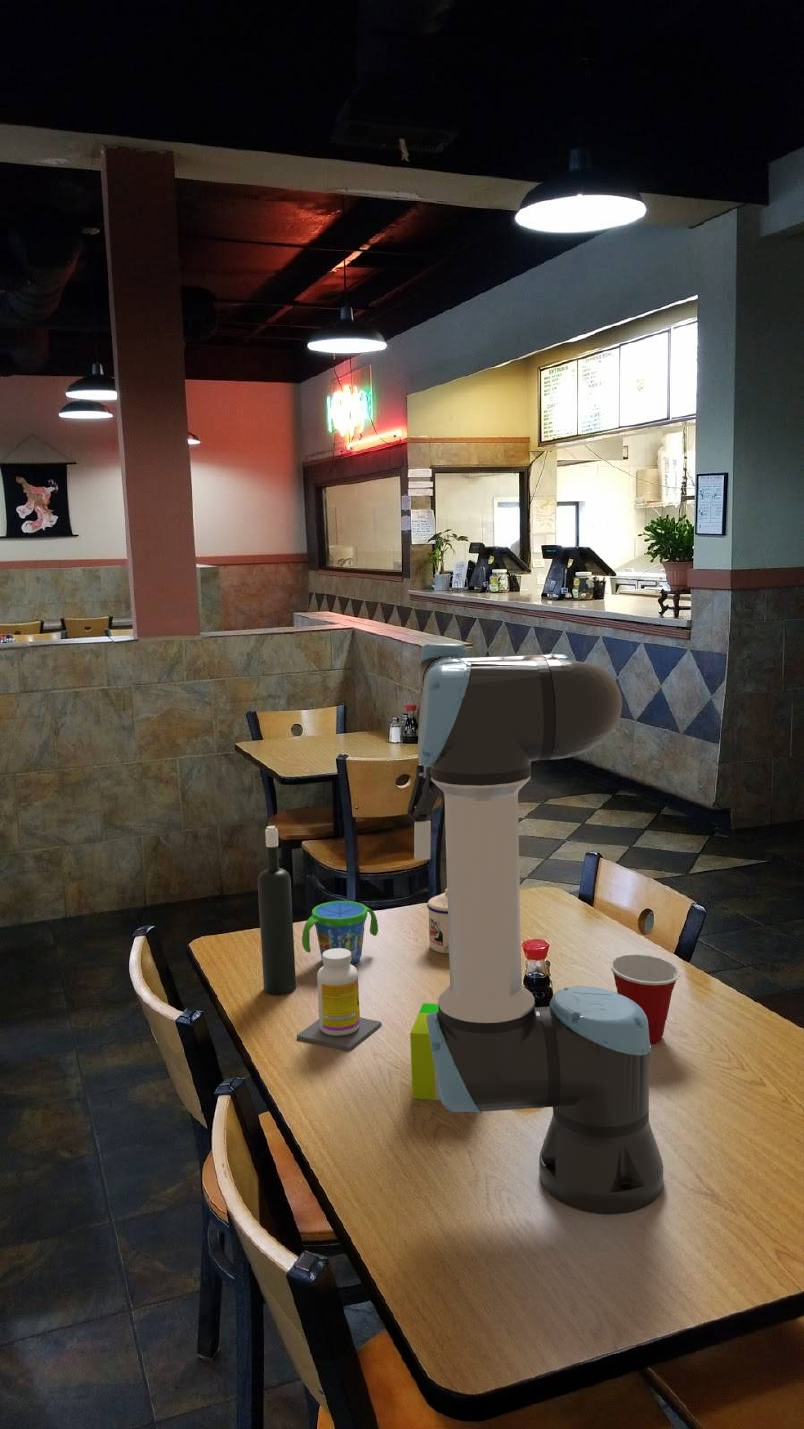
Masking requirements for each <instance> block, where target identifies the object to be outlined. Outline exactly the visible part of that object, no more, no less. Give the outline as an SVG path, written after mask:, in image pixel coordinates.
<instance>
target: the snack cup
mask: <svg viewBox="0 0 804 1429" xmlns="http://www.w3.org/2000/svg"><path fill="white" fill-rule="evenodd" d="M368 913H369V915H370V918H371V919H370V925H369V933H370V934H371V935H372V936H373V937H376V936H377V935H378V932H379V924H378V920H377V915H376V913H375V912H374V910H372V909H371V908H369V907H368V906H366V905H365V904H363V903H360V902H356V901H351V900H335V901H328V902H327V901H326V902H324V903H320V904H318V905H316V906H314V908H313V909H312V911H311V916H310V917H309V918H308V919H307V920H306V922H305V924H304V927H303V929H302V930H303V931H302V937H301V943H302V947H303V950H304V951H305V952H307V953H311V951H312V950H311V947H310V944H311V942H310V930H311V929H312V927H313V926H314V925H315V931H316V936H317V941H318V947H319V950H320V956H321V958H322V954H323V952H325V951H326V950H329V949H334V948H342V949H347V950H349V951H350V952H351V962H350V964H351V965H353V964H354V963H359V962H360V959H361V958H362V954H363V952H362V951H363V943H364V936H365V923H366V920H367V917H368Z"/></svg>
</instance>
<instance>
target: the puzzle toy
mask: <svg viewBox="0 0 804 1429" xmlns="http://www.w3.org/2000/svg"><path fill="white" fill-rule="evenodd" d="M433 1012H438V1003H426V1002H425V1003H422V1005H421V1007H420V1009H419V1011H418V1014H417V1017H416V1019H415V1021H414V1024H413V1025H412V1029H411V1030H410V1035H409V1036H410V1038H409V1039H410V1061H411V1064H410V1065H411V1090H412V1099H419V1100H421V1099H422V1100H433V1101H441V1099H440V1094H439V1089H438V1083H437V1077H436V1072H435V1066H434V1060H433V1055H432V1049H431V1043H430V1037H429V1031H428V1025H427V1019H426V1017H427V1015H428V1014H430V1013H433Z"/></svg>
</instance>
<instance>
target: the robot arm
mask: <svg viewBox="0 0 804 1429" xmlns="http://www.w3.org/2000/svg"><path fill="white" fill-rule="evenodd" d="M420 652H421V653H420V660H419V668H420V670H419V671H420V679H419V680H420V681H419V682H420V684H419V686H420V687H419V688H420V690H419V691H420V692H419V693H420V707H419V716H418V727H417V734H418V740H417V759H418V761H417V762H418V763H417V765H416V772H415V773H416V774H415V778H414V784H413V788H412V791H411V796H410V798H409V802H408V806H407V810H406V811H407V815H408V816H411V818H412V821H414V828H413V829H414V831H413V832H414V834H413V836H414V838H413V839H414V841H413V845H414V846H413V847H414V849H413V850H414V852H413V860H414V861H416V862H417V861H427V860H428V861H429V860H431V851H432V850H431V843H432V842H431V840H432V838H431V836H432V835H431V834H432V832H431V831H432V828H431V827H432V826H431V825H432V824H431V823H432V822H431V820H432V817H431V813H432V810H433V808H434V807H435V804H436V802H437V800H438V798H441V801H442V802H444V820H445V822H444V823H445V824H444V826H445V855H446V856H445V858H446V885H447V886H446V889H447V896H448V930H449V954H448V956H449V958H448V959H449V960H448V961H449V986H448V987H447V988H445V990H443V991H442V993H441V994H440V995H439V996H438V1000H437V1004H438V1012H433V1013H430V1014H428V1015H427V1017H426V1019H427V1025H428V1031H429V1037H430V1043H431V1049H432V1055H433V1060H434V1066H435V1072H436V1077H437V1083H438V1089H439V1094H440V1099H441V1100H440V1102H441V1104H442V1105H443V1107H444V1108H445V1109H446V1110H448V1111H451V1112H452V1113H464V1112H465V1113H466V1112H467V1113H469V1112H470V1113H471V1112H472V1113H473V1112H474V1113H476V1114H482V1113H484V1112H497V1111H513V1110H515V1111H516V1110H527V1109H544V1108H552V1117H551V1120H550V1123H549V1125H548V1129H547V1130H546V1135H545V1138H544V1140H543V1143H542V1146H541V1149H540V1152H539V1160H538V1163H539V1165H538V1166H539V1168H538V1169H539V1171H538V1172H539V1178H540V1182H541V1184H542V1186H543V1187H544V1189H545V1190H546V1191H547V1192H548V1194H550V1195H551V1196H552V1197H554V1198H555V1199H557V1200H558V1201H560V1202H561V1203H563V1204H565V1205H568V1206H571V1207H573V1208H576V1209H579V1210H582V1211H587V1212H593V1213H599V1214H600V1213H601V1214H617V1213H625V1212H631V1211H635V1210H638V1209H641V1208H643V1207H645V1206H647V1205H648V1204H650V1203H652V1202H653V1201H655V1200H656V1199H657V1198H658V1196H659V1195H660V1194H661V1192H662V1190H663V1186H664V1163H663V1162H664V1161H663V1158H662V1155H661V1153H660V1150H659V1147H658V1144H657V1141H656V1138H655V1135H654V1132H653V1129H652V1127H651V1123H650V1110H649V1108H650V1052H651V1048H652V1045H651V1044H650V1040H649V1028H648V1020H647V1017H646V1014H645V1013H644V1011H643V1010H642V1008H641V1007H640V1006H639V1005H638V1004H636V1003H635V1002H634V1001H632V1000H631V999H629V998H627V997H625V996H623V995H620V994H618V993H617V991H616V992H615V991H613V990H609V989H605V988H601V987H593V986H585V985H584V986H583V985H582V986H581V985H577V986H575V985H574V986H569V987H564V988H563V989H559V990H557V991H556V992H554V993H553V995H552V998H551V999H550V1002H549V1006H538V1007H536V1006H535V1004H536V1002H535V997H534V995H533V994H532V992H531V991H529V989H527V988H526V987H525V986H524V985H523V984H522V980H523V979H522V943H521V942H522V941H521V940H522V938H521V937H522V935H521V885H520V883H521V882H520V842H519V841H520V839H519V838H520V835H519V832H520V831H519V830H520V829H519V792H520V790H521V789H522V788H523V787H524V785H526V784H527V783H528V782H529V781H530V780H531V774H532V770H531V769H532V768H531V765H532V762H534V761H535V762H536V761H549V760H561V759H565V758H566V759H567V758H571V757H574V756H577V755H580V754H583V753H585V752H587V751H589V750H591V749H593V748H594V747H597V745H599V744H601V743H602V742H603V741H604V740H605V739H606V738H608V736H609V735H610V734H611V733H612V732H613V731H614V729H615V728H616V727H617V725H618V722H619V721H620V718H621V715H622V708H623V698H622V693H621V689H620V687H619V685H618V682H617V681H616V680H615V678H614V677H613V676H612V675H611V673H609V672H608V671H606V670H605V669H603V667H600V666H598V665H596V664H592V663H589V662H584V661H577V660H570V659H569V657H568V656H567V655H566V654H559V653H558V654H556V653H555V654H554V653H543V654H531V655H530V654H527V655H526V654H525V655H511V656H510V655H509V656H507V655H506V656H505V655H504V656H501V655H500V656H476V657H475V656H474V657H473V656H472V657H468V649H467V646H466V645H465V644H462V643H425V644H423V646H422V647H421V649H420Z"/></svg>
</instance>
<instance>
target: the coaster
mask: <svg viewBox="0 0 804 1429" xmlns="http://www.w3.org/2000/svg"><path fill="white" fill-rule="evenodd" d="M382 1025H383V1024H382V1021H380V1020H379V1021H378V1020H374V1019H370V1018H366V1017H365V1018H364V1017H361V1016H360V1026H359V1028H358V1029H357V1030H356V1031H355V1032H353V1033H351V1034H348V1035H343V1036H332V1035H328V1034H325V1033H324V1032H322V1031H321V1029H320V1026H319V1019H317V1020H316V1021H314V1022H313V1023H312V1024H310V1025H309V1026H308V1027H306V1028H305V1029H303V1030H301V1032H299V1033H298V1034H296V1040H301V1041H305V1042H310V1043H312V1044H318V1045H322V1046H326V1047H329V1048H330V1047H331V1048H334V1049H338V1050H339V1049H340V1050H343V1051H347V1052H350V1051H352V1050H353V1049H354V1048H356V1046H358V1045H359V1044H360V1043H362V1042H363V1041H364V1040H365V1039H366V1038H368V1037H369V1036H370V1035H372V1034H373V1033H374V1032H375V1031H376V1029H377V1030H378V1029H379V1028H380V1027H382Z"/></svg>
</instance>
